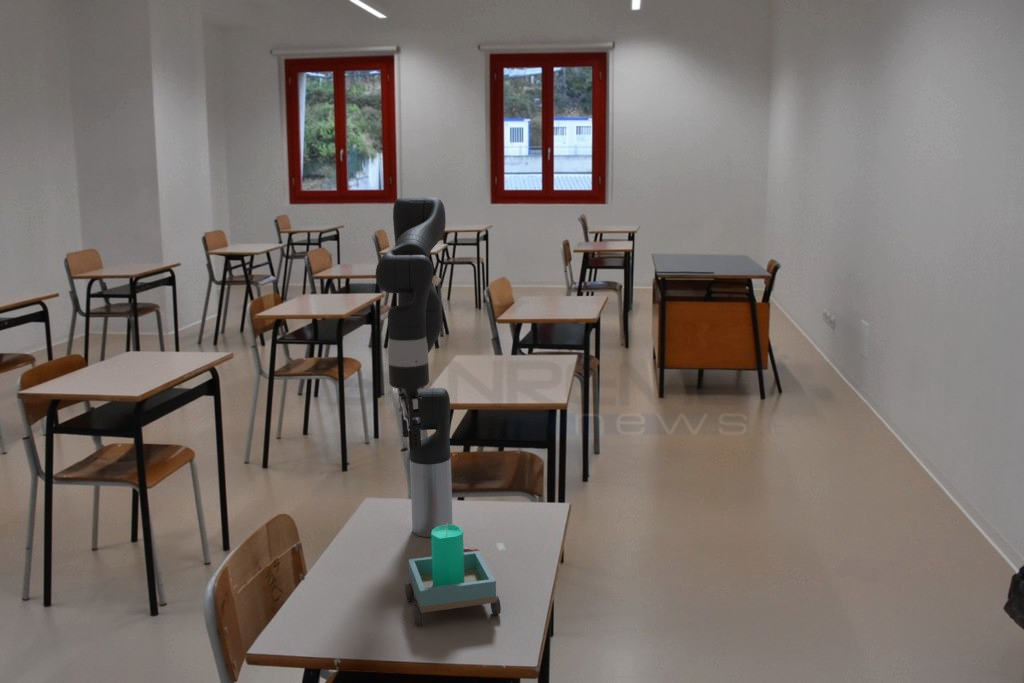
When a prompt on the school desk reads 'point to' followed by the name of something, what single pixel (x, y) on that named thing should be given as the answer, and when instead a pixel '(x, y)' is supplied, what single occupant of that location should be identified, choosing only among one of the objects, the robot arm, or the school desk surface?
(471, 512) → the school desk surface
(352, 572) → the school desk surface
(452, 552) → the candle
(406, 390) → the robot arm
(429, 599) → the cart
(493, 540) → the school desk surface
